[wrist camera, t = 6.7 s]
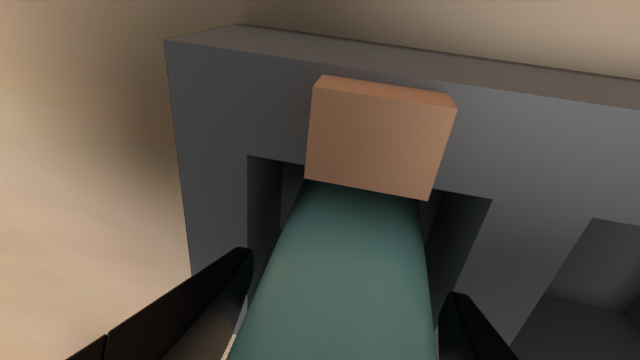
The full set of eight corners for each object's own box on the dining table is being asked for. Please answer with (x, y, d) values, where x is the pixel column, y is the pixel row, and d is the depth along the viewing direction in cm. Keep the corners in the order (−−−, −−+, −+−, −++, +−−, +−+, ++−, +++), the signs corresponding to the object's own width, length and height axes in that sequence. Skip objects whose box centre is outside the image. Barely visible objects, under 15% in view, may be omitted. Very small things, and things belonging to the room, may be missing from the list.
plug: (402, 250, 13) (414, 561, 6) (299, 229, 13) (200, 498, 6) (431, 157, 11) (504, 477, 4) (307, 135, 11) (173, 391, 4)
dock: (660, 335, 13) (794, 504, 9) (242, 247, 15) (181, 353, 10) (879, 114, 8) (1386, 238, 4) (239, 23, 10) (130, 46, 6)
